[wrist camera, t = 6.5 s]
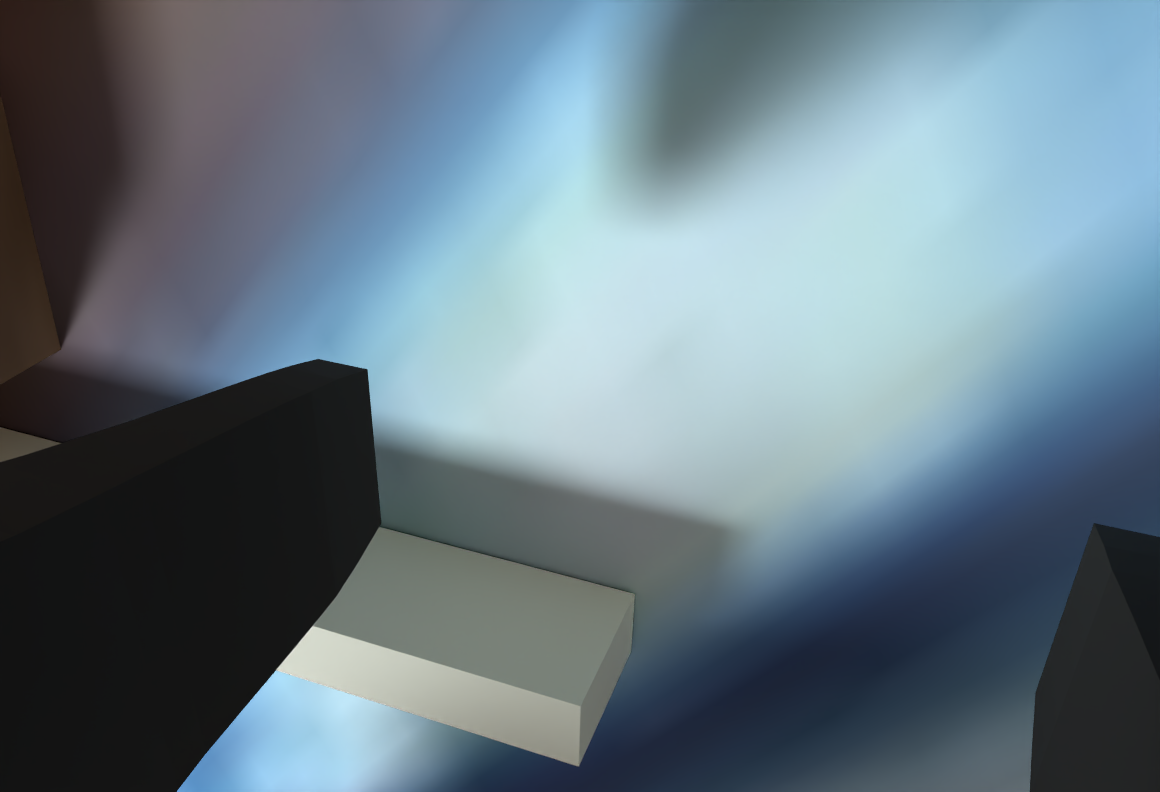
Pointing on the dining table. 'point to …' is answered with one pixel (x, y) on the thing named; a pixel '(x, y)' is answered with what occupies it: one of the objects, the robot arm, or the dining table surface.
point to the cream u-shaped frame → (463, 639)
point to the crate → (20, 275)
